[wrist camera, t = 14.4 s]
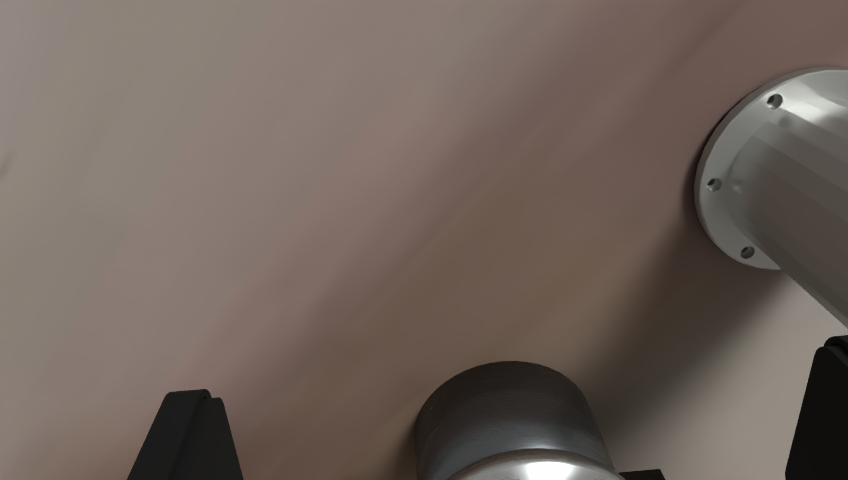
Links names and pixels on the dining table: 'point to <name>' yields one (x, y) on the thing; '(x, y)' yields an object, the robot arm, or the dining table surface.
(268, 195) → the dining table surface
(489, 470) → the lid
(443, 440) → the pot
